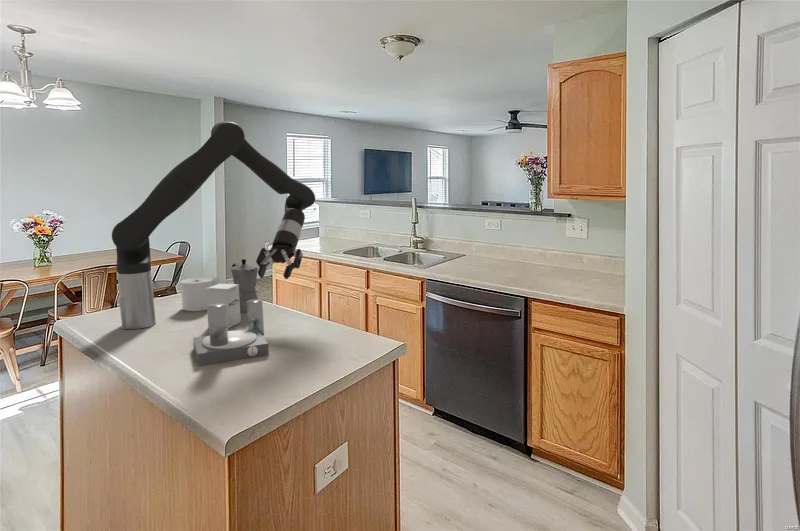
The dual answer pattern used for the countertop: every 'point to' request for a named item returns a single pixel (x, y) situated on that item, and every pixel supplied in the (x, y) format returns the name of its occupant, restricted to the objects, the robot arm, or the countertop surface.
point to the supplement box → (226, 301)
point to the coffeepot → (245, 282)
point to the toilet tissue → (196, 292)
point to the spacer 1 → (217, 324)
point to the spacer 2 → (255, 315)
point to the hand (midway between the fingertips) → (273, 277)
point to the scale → (231, 347)
